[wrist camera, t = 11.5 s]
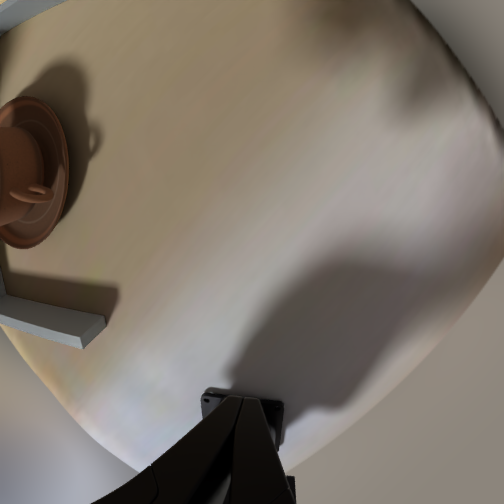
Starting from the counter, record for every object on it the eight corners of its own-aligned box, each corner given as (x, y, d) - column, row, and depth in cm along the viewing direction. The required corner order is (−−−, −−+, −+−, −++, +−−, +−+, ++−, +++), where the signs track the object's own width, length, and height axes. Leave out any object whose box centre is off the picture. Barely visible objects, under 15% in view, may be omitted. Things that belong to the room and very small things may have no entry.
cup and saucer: (82, 82, 18) (23, 68, 12) (89, 244, 21) (33, 272, 15) (-8, 116, 19) (-58, 118, 14) (-1, 242, 23) (-48, 261, 17)
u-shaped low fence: (106, 326, 23) (82, 349, 20) (3, 302, 25) (-19, 316, 21) (106, -24, 15) (82, -41, 11) (-3, 30, 17) (-27, 24, 13)
